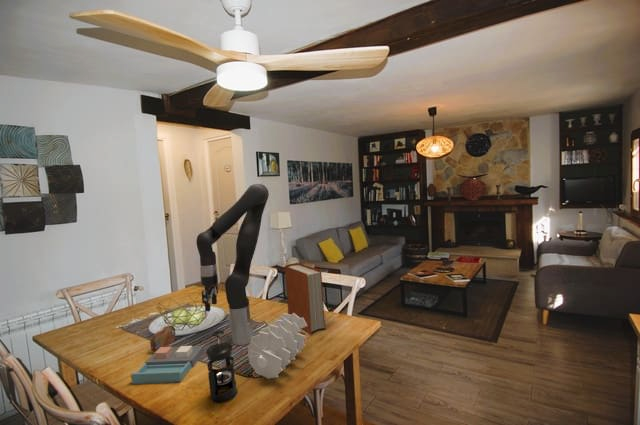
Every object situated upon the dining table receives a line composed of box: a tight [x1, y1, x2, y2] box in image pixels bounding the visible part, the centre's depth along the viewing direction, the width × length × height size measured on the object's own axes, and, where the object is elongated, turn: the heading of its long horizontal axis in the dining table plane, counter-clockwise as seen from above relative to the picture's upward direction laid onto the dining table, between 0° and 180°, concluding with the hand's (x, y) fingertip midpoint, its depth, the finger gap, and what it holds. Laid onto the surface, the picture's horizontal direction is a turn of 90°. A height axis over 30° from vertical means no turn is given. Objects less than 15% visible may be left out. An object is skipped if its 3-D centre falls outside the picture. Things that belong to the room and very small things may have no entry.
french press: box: [205, 330, 238, 404], centre depth 117 cm, size 12×9×23 cm
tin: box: [149, 325, 176, 352], centre depth 157 cm, size 15×3×8 cm, turn 168°
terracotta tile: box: [154, 346, 173, 359], centre depth 143 cm, size 5×5×2 cm
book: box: [284, 262, 326, 336], centre depth 169 cm, size 23×8×30 cm, turn 34°
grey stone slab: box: [144, 345, 205, 368], centre depth 144 cm, size 20×12×3 cm, turn 88°
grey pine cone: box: [246, 312, 307, 380], centre depth 134 cm, size 18×18×25 cm
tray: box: [130, 362, 193, 385], centre depth 133 cm, size 19×10×4 cm, turn 88°
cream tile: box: [175, 345, 193, 358], centre depth 143 cm, size 5×5×2 cm
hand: (211, 307), depth 157 cm, fingers open, 8 cm apart
